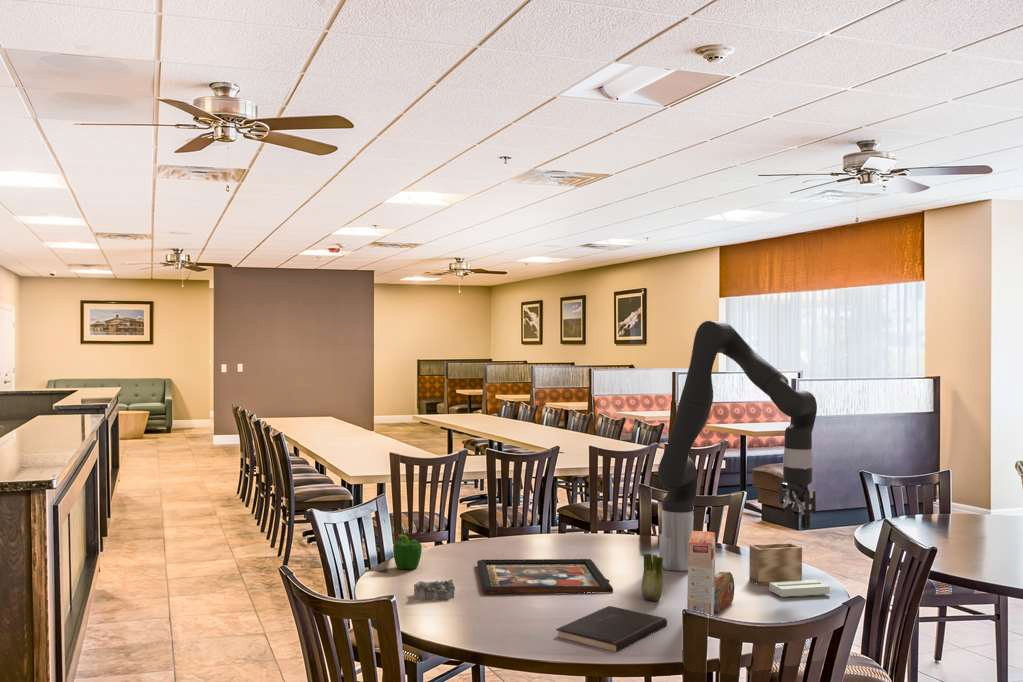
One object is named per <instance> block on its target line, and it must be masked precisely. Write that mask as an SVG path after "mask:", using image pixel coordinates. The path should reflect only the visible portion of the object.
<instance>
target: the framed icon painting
mask: <svg viewBox="0 0 1023 682" xmlns="http://www.w3.org/2000/svg"><path fill="white" fill-rule="evenodd" d="M476 564H477V572H478V573H477V574H478V576H479V580H480V585H481V590H482V593H483V595H484V596H507V595H508V596H511V595H512V596H513V595H514V596H515V595H517V596H518V595H555V594H556V593H571V594H588V593H587V592H591V593H590V594H593V593H592V592H612V593H614V587H613V586H612V585H611V584H610V582H609V580H607V579H606V577H605V576H604V574H603V573H602V571H600V569H599V567H597V565H596V564H595V562H594V561H593V560H592V559H591V558H579V559H578V558H564V559H563V558H561V559H559V558H557V559H555V558H551V559H547V558H545V559H544V558H543V559H541V558H539V559H520V558H519V559H505V558H504V559H479V560H477V561H476ZM584 592H585V593H584Z"/></svg>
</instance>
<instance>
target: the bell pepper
mask: <svg viewBox="0 0 1023 682" xmlns="http://www.w3.org/2000/svg"><path fill="white" fill-rule="evenodd" d="M398 538H399V539H401V538H403V539H402V540H397V541H394V543H393V546H392V547H393V548H392V550H393V558H394V563H395V566H396V567H397V569H399V570H415V569H417V568H418V566H419V563H420V561H421V557H422V549H423V548H422V543H421V542H419V541H418V540H417V539H411V540H409V537H408V536H407V535H406V534H399V535H398Z"/></svg>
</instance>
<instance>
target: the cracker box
mask: <svg viewBox="0 0 1023 682" xmlns="http://www.w3.org/2000/svg"><path fill="white" fill-rule="evenodd" d="M715 575H716V533H715V532H711V531H704V530H703V531H700V530H693V531H692V534H691V537H690V540H689V542H688V570H687V597H686V598H687V599H686V600H687V604H686V605H687V606H686V607H687V609H686V611H687V610H693V611H699V612H703V613H707V614H709V615H712V616H714V615H715V612H714V589H715Z"/></svg>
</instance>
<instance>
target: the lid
mask: <svg viewBox="0 0 1023 682" xmlns="http://www.w3.org/2000/svg"><path fill="white" fill-rule="evenodd" d="M768 586H769V587H768V590H769V591H770V592H772V593H774V594H776V595H778V596H780V598H781V597H782V598H789V597H788V596H798V597H808V596H807V595H814V596H822V595H830V594H831V592H830V591H831V589H830V588H831V586H830V585H828V584H826V583H823V582H821V581H819V580H818V579H806V580H803V579H802V581H786V582H769V585H768Z"/></svg>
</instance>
